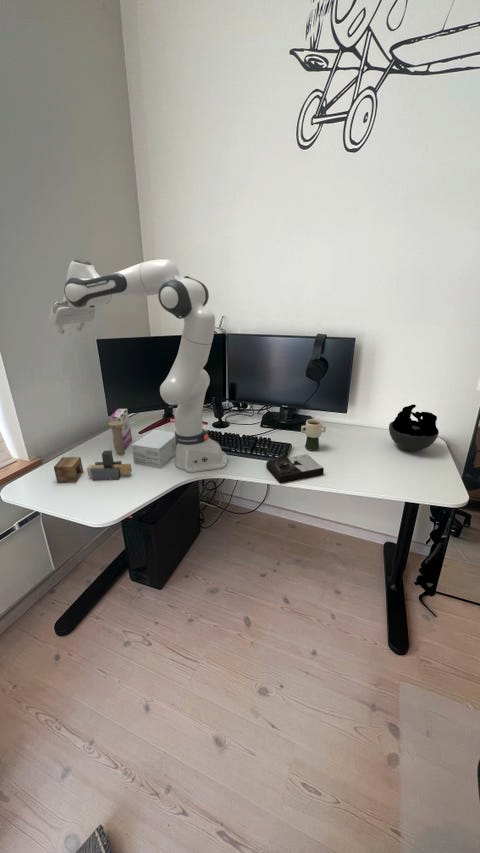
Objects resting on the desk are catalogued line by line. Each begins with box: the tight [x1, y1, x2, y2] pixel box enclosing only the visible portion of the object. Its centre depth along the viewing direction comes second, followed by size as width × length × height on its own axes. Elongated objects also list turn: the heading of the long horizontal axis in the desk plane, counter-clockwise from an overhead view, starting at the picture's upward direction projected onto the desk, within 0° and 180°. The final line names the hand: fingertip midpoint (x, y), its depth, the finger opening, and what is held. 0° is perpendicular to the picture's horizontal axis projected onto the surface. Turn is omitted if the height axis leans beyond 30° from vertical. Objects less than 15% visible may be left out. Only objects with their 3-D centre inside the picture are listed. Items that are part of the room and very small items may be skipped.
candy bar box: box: [108, 408, 133, 451], centre depth 162 cm, size 11×5×16 cm, turn 179°
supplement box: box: [131, 429, 176, 469], centre depth 152 cm, size 17×13×9 cm
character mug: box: [300, 418, 327, 451], centre depth 158 cm, size 11×7×13 cm, turn 90°
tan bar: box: [86, 449, 133, 477], centre depth 137 cm, size 16×3×9 cm, turn 93°
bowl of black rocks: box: [388, 404, 440, 451], centre depth 156 cm, size 20×20×19 cm
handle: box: [107, 421, 125, 456], centre depth 154 cm, size 5×6×15 cm
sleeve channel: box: [91, 460, 123, 482], centre depth 138 cm, size 10×6×5 cm, turn 93°
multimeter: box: [265, 453, 325, 485], centre depth 141 cm, size 13×19×5 cm
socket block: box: [53, 456, 84, 484], centre depth 137 cm, size 7×8×7 cm
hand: (70, 331), depth 149 cm, fingers open, 8 cm apart
